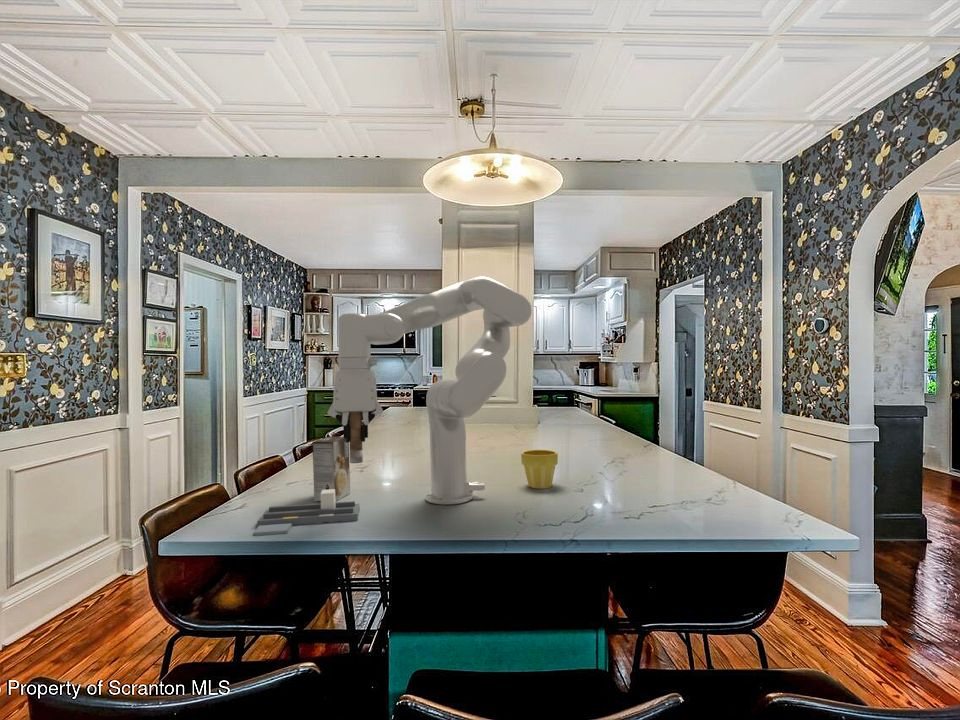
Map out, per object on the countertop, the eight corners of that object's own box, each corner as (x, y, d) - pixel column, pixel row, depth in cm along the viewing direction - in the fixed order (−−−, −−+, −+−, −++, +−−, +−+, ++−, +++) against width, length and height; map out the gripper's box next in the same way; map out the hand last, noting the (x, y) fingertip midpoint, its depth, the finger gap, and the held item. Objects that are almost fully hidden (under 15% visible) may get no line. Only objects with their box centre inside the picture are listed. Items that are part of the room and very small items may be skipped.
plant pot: (533, 480, 158) (532, 447, 158) (564, 484, 152) (563, 450, 152) (515, 487, 149) (514, 453, 149) (547, 492, 143) (546, 456, 143)
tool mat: (291, 525, 119) (291, 523, 119) (287, 532, 114) (287, 530, 114) (259, 528, 118) (259, 525, 118) (253, 535, 113) (253, 532, 113)
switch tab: (335, 507, 127) (335, 489, 127) (334, 511, 124) (333, 492, 124) (322, 508, 127) (322, 489, 127) (320, 512, 123) (320, 493, 123)
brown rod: (362, 460, 128) (362, 403, 128) (362, 463, 125) (361, 404, 125) (350, 461, 127) (349, 403, 127) (349, 463, 124) (348, 404, 124)
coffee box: (329, 492, 148) (328, 436, 148) (350, 493, 147) (349, 436, 147) (313, 501, 139) (311, 441, 139) (335, 502, 138) (334, 441, 138)
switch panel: (359, 509, 131) (359, 499, 131) (357, 520, 122) (357, 509, 122) (266, 515, 127) (266, 505, 127) (257, 527, 118) (257, 516, 118)
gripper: (389, 364, 131) (390, 437, 131) (321, 365, 128) (322, 440, 128) (389, 364, 124) (390, 442, 124) (317, 365, 121) (318, 445, 121)
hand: (355, 440), depth 126 cm, fingers closed on brown rod, 3 cm apart
